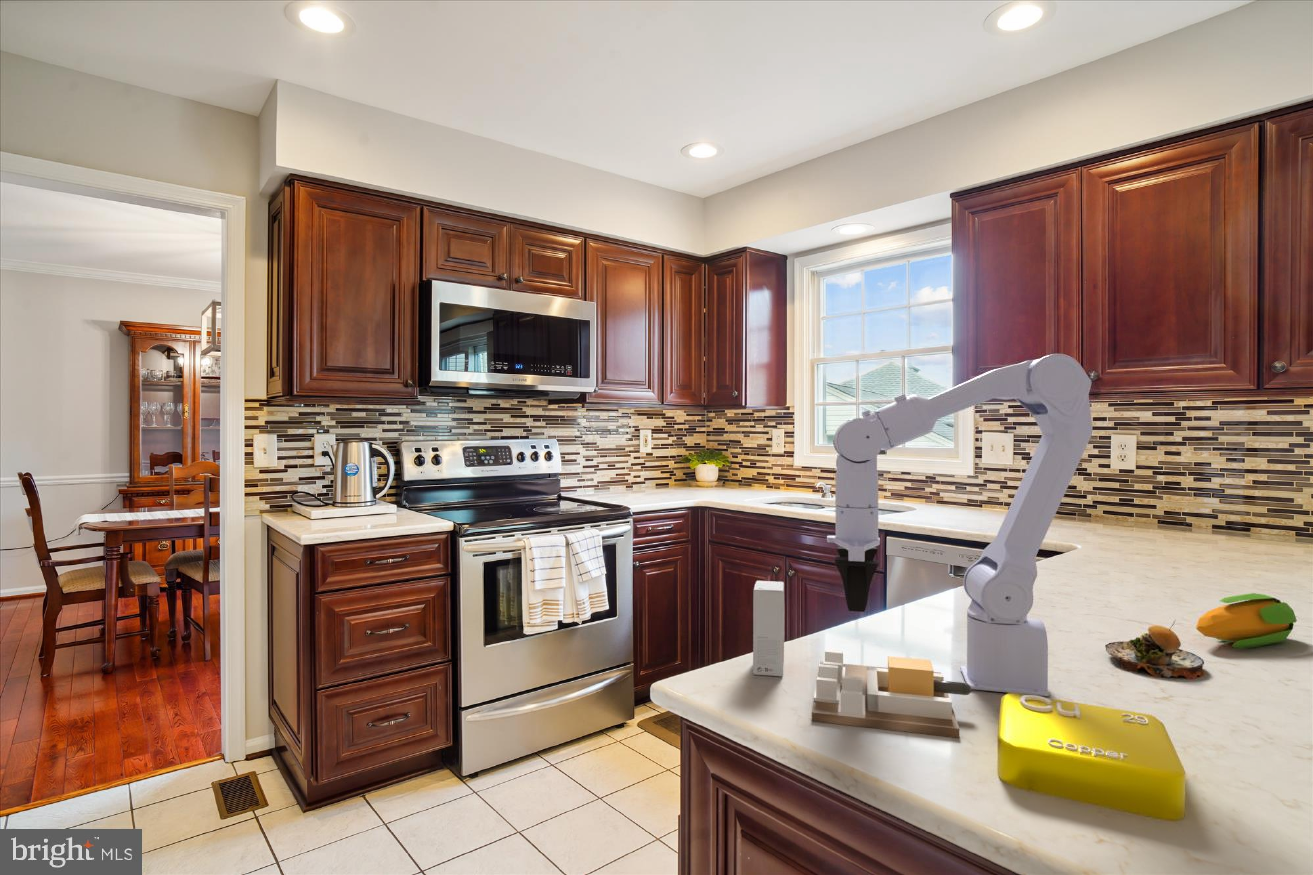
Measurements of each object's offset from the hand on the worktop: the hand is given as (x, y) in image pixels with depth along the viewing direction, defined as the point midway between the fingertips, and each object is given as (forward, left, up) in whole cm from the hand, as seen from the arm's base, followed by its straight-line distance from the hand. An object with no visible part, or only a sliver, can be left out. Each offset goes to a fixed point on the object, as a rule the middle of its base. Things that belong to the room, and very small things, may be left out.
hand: (856, 603), depth 95 cm
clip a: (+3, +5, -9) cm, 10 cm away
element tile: (-22, +21, -10) cm, 32 cm away
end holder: (-7, +10, -9) cm, 15 cm away
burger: (-41, -16, -10) cm, 45 cm away
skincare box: (+12, +1, -10) cm, 16 cm away
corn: (-59, -31, -10) cm, 67 cm away
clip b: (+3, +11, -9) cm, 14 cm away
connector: (-8, +10, -9) cm, 16 cm away
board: (-3, +8, -10) cm, 13 cm away
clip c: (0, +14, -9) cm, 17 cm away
